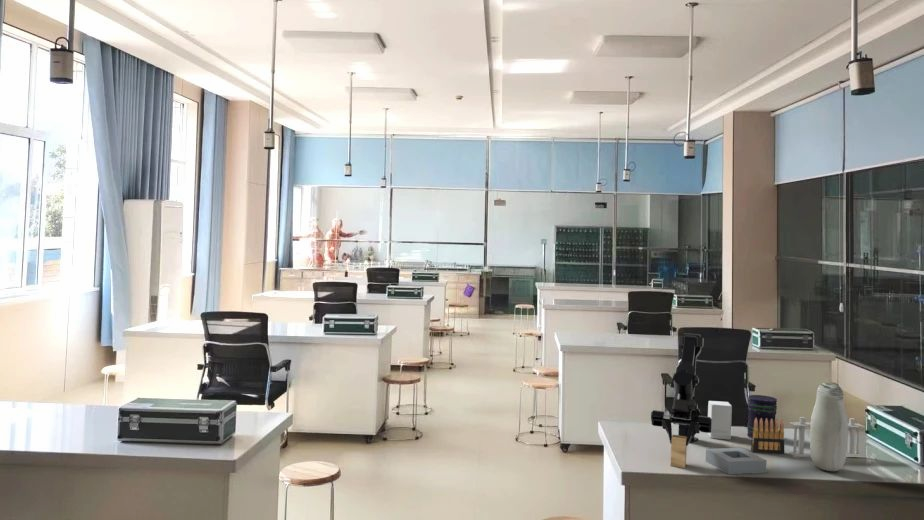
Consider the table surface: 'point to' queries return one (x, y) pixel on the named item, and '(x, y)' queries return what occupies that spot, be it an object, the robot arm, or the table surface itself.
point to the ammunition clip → (768, 437)
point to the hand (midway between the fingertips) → (678, 444)
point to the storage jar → (761, 411)
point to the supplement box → (720, 419)
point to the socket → (736, 460)
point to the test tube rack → (803, 424)
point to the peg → (678, 451)
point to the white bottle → (829, 428)
